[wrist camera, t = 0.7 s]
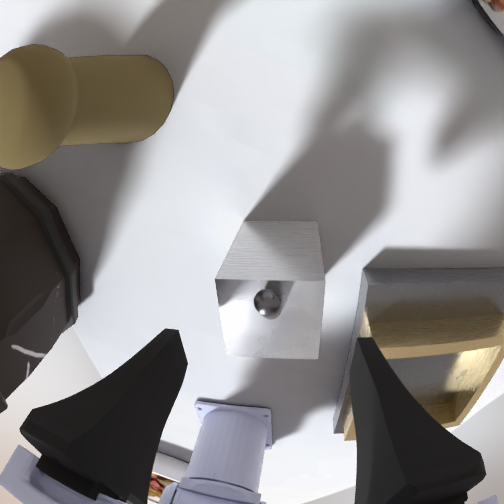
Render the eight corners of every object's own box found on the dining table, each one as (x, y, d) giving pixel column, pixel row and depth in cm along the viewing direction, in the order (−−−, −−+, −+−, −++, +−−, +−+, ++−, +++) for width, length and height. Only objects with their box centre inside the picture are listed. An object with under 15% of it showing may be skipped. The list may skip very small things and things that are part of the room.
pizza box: (226, 456, 35) (214, 501, 28) (249, 504, 48) (244, 532, 41) (69, 416, 40) (51, 446, 33) (131, 479, 53) (122, 502, 46)
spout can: (314, 284, 20) (318, 381, 13) (248, 283, 21) (220, 376, 13) (317, 219, 18) (327, 300, 11) (243, 219, 19) (205, 296, 11)
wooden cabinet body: (442, 407, 25) (450, 438, 21) (333, 418, 27) (333, 454, 23) (507, 267, 17) (535, 298, 13) (362, 268, 19) (376, 309, 15)
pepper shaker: (177, 50, 14) (47, 8, 5) (171, 143, 17) (41, 192, 7) (98, 61, 15) (-36, 58, 5) (95, 143, 18) (-35, 190, 8)
